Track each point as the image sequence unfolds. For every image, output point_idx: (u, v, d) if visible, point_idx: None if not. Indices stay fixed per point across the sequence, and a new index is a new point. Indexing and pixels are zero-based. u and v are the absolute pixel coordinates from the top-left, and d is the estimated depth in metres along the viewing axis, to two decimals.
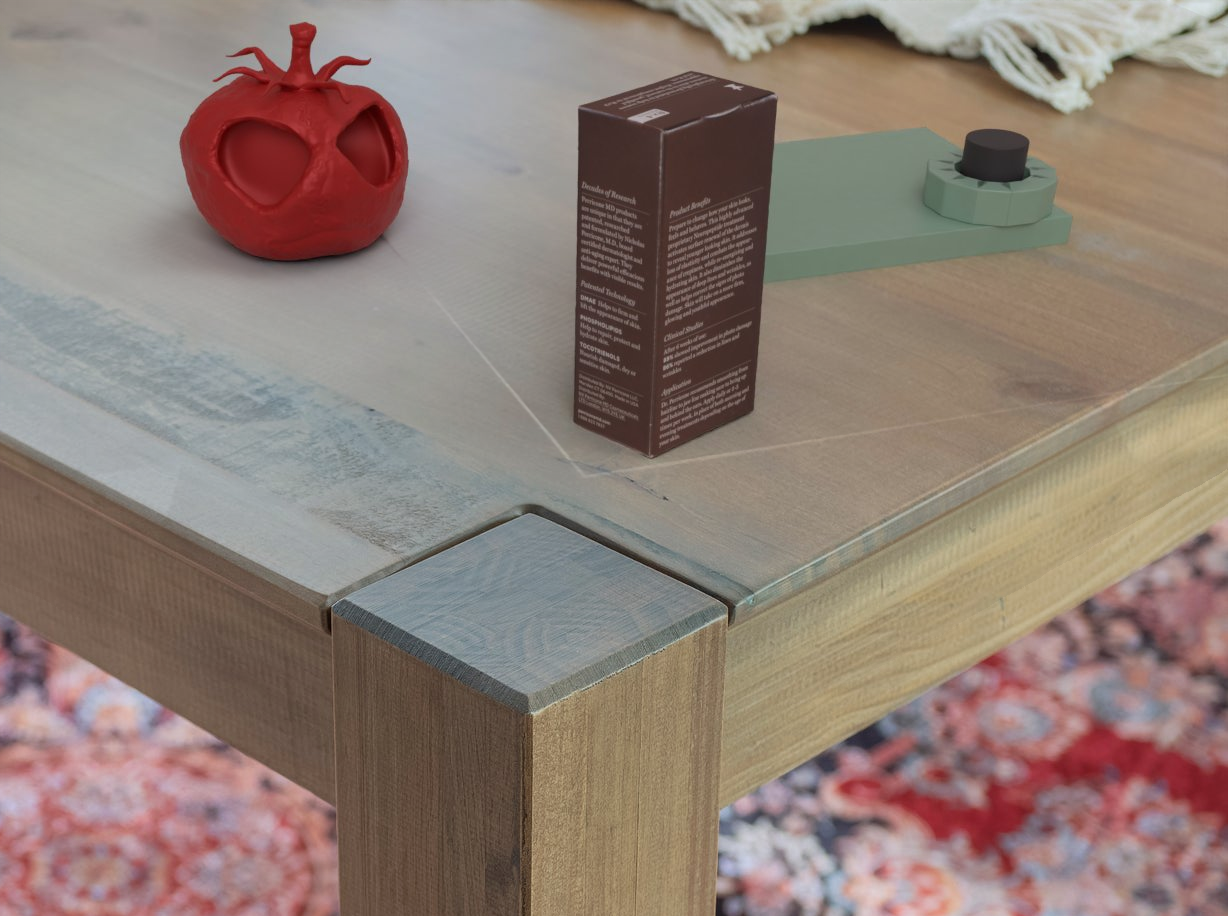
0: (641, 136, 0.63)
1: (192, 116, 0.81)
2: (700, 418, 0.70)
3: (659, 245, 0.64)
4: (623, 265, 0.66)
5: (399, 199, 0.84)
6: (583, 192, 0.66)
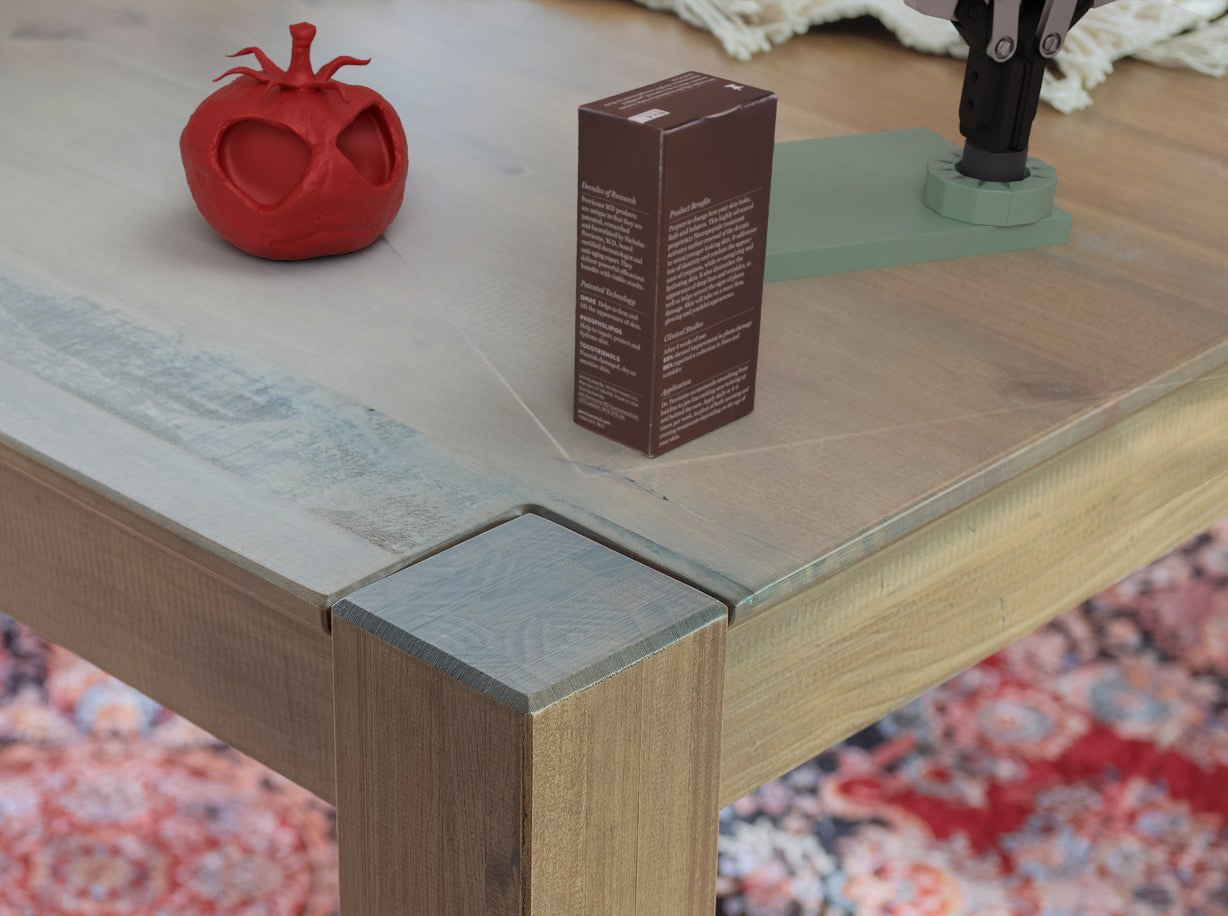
0: (641, 136, 0.63)
1: (192, 116, 0.81)
2: (700, 418, 0.70)
3: (659, 245, 0.64)
4: (623, 265, 0.66)
5: (399, 199, 0.84)
6: (583, 192, 0.66)
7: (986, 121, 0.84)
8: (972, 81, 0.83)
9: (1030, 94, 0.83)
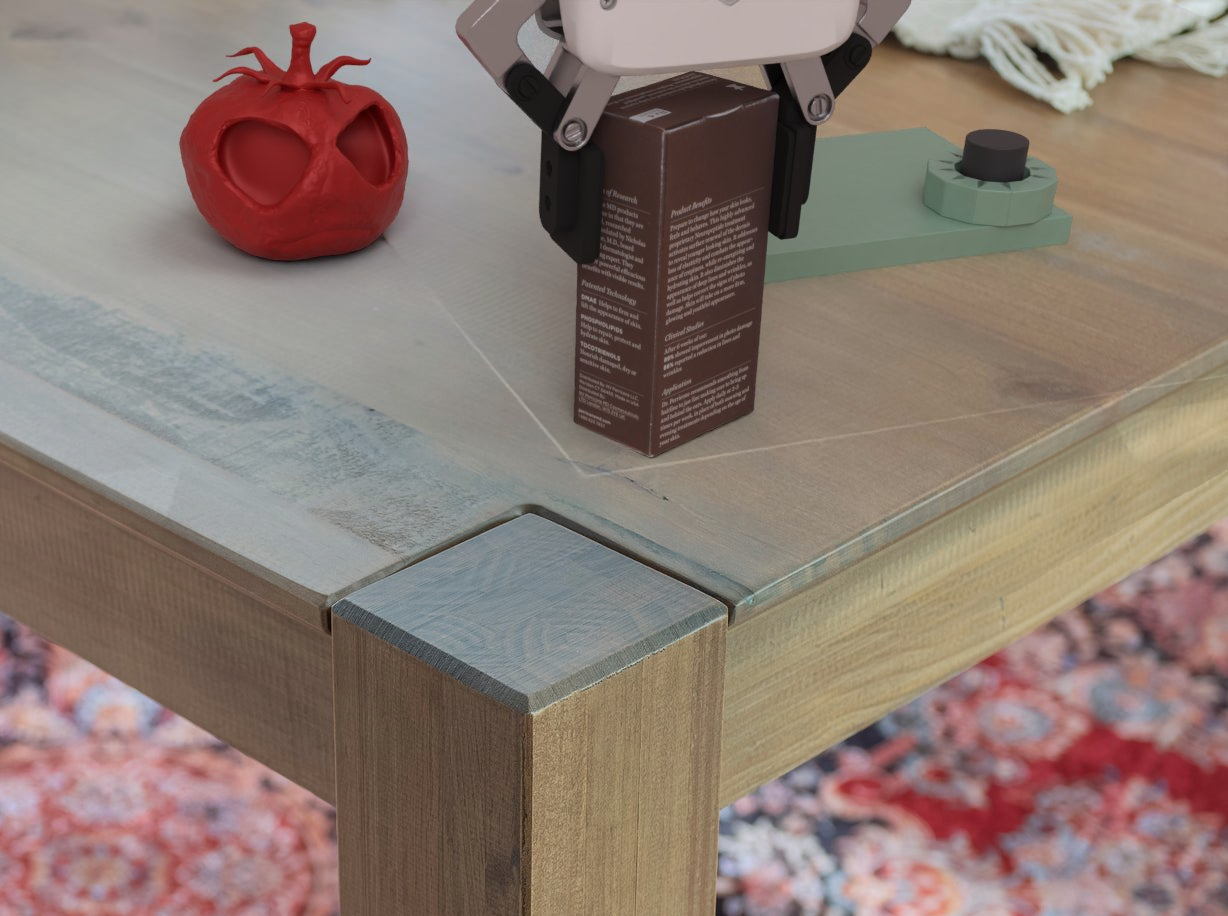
0: (642, 135, 0.63)
1: (192, 116, 0.81)
2: (701, 418, 0.70)
3: (660, 244, 0.64)
4: (624, 264, 0.66)
5: (399, 199, 0.84)
6: None
7: (568, 224, 0.65)
8: (548, 173, 0.65)
9: (796, 170, 0.66)
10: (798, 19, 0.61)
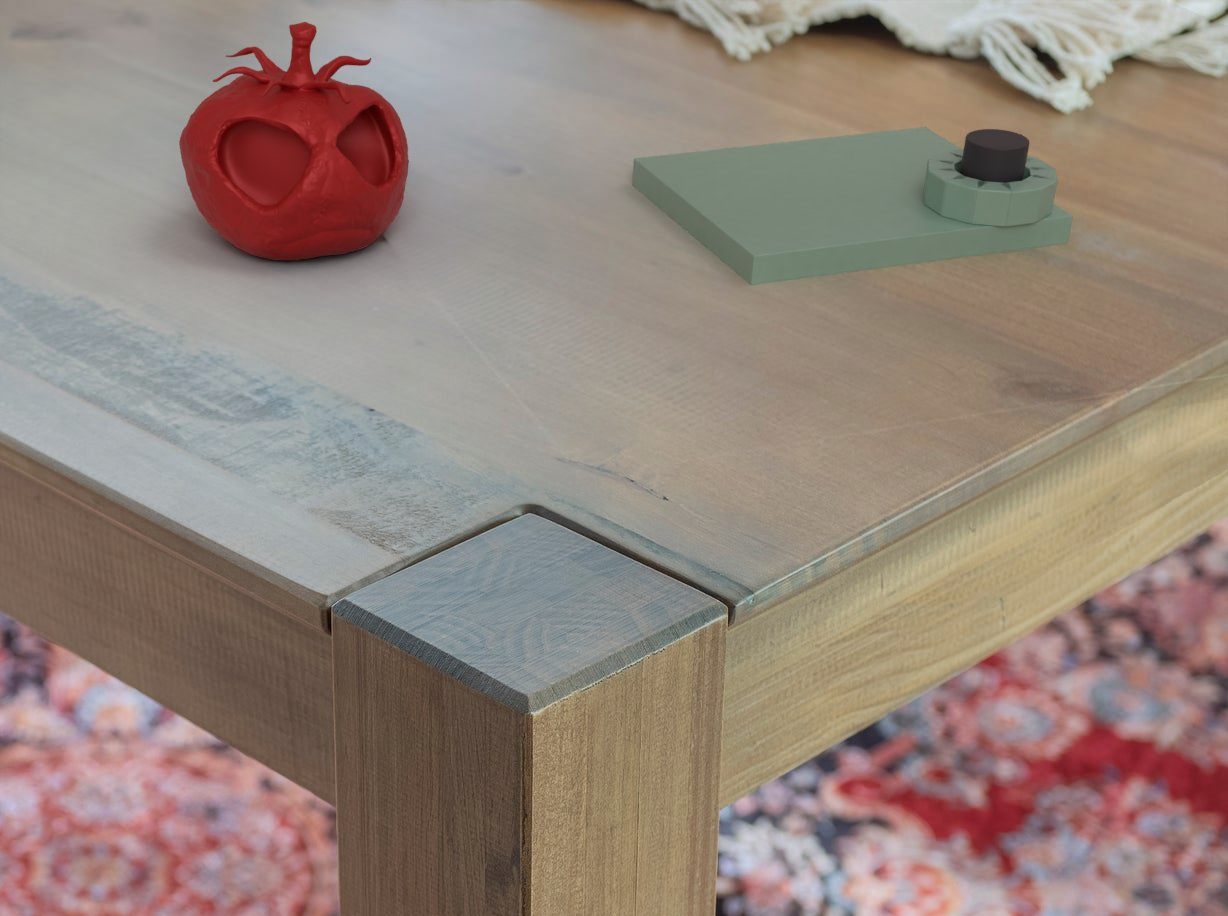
0: None
1: (192, 116, 0.81)
2: None
3: None
4: None
5: (399, 199, 0.84)
6: None
7: None
8: None
9: None
10: None
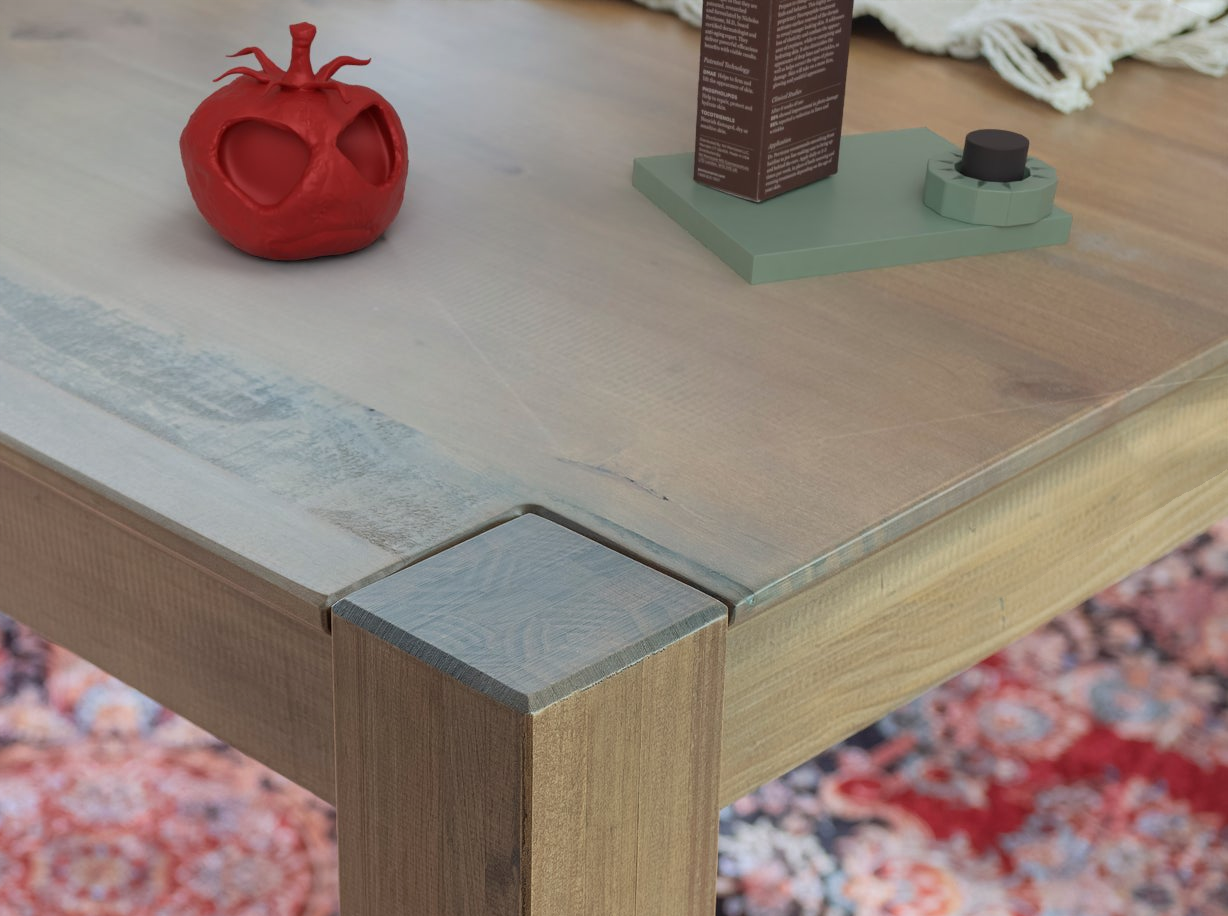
0: None
1: (192, 116, 0.81)
2: (797, 173, 0.87)
3: (770, 20, 0.81)
4: (740, 40, 0.83)
5: (399, 199, 0.84)
6: None
7: None
8: None
9: None
10: None
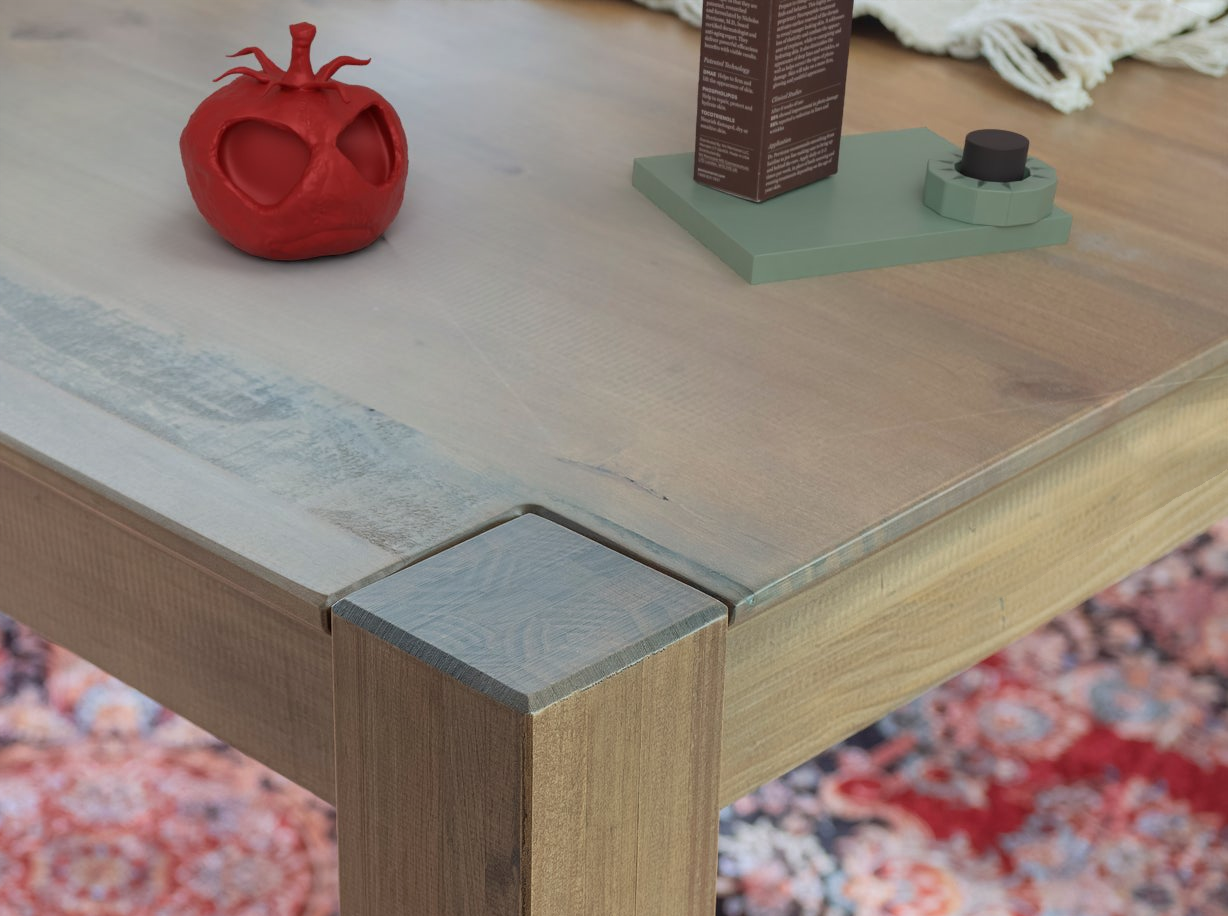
0: None
1: (192, 116, 0.81)
2: (797, 173, 0.87)
3: (771, 20, 0.81)
4: (740, 40, 0.83)
5: (399, 199, 0.84)
6: None
7: None
8: None
9: None
10: None
